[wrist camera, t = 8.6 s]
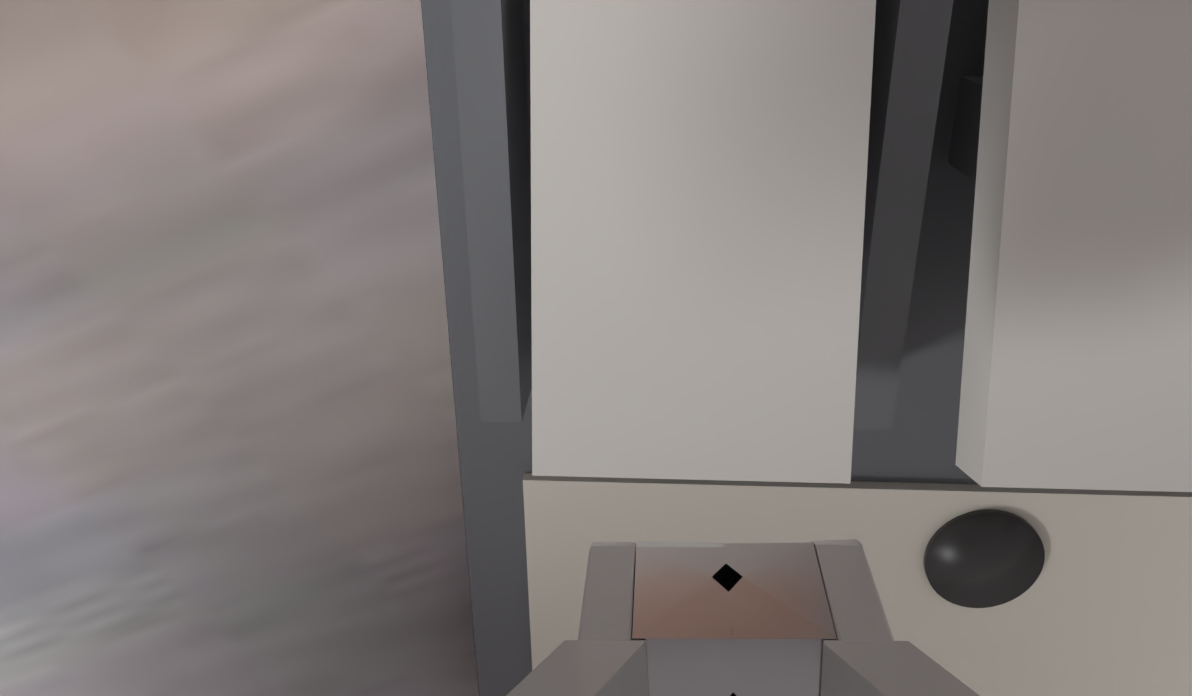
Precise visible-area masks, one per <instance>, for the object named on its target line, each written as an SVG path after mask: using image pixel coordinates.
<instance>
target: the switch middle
mask: <svg viewBox="0 0 1192 696" xmlns="http://www.w3.org/2000/svg"><path fill="white" fill-rule="evenodd" d="M955 465H956V466H957V467H959V468H960V469H961V470H962V471H963V472H964V473H966V474H967V475H968V476H969V477H970V478H972V479H973V480H974V481H975V482H976V483H978V484H979V485H980V486H981V487H1006V488H1046V489H1086V490H1125V491H1165V492H1192V0H989V4H988V18H987V32H986V46H985V60H984V74H983V88H982V101H981V115H980V129H979V143H978V157H977V171H976V185H975V199H974V213H973V227H972V241H971V254H970V268H969V282H968V296H967V310H966V324H965V338H964V352H963V366H962V380H961V394H960V407H959V421H958V435H957V449H956V463H955Z"/></svg>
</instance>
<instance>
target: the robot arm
mask: <svg viewBox="0 0 1192 696" xmlns="http://www.w3.org/2000/svg"><path fill="white" fill-rule="evenodd" d="M506 696H980V695H978V694H977V693H976V692H974V691H973V690H972V689H970V688H969V687H968V686H967V685H965V684H964V683H963V682H961V681H960V680H959V679H957V678H956V677H955V676H953V675H952V674H951V673H950V672H948V671H947V670H946V669H944V668H943V667H942V666H940V665H939V664H938V663H936V662H935V661H934V660H933V659H931V658H930V657H929V656H927V655H926V654H925V653H923V652H922V651H921V650H919V649H918V648H917V647H916V646H914V645H913V644H912V643H910V642H909V641H894V639H893V636H892V633H891V630H890V627H889V624H888V621H887V618H886V615H885V612H884V609H883V606H882V603H881V600H880V597H879V594H878V591H877V588H876V585H875V582H874V579H873V576H872V573H871V570H870V567H869V564H868V561H867V558H866V555H865V552H864V549H863V546H862V544H861V543H860V542H859V541H858V540H857V539H849V540H822V541H812V542H807V543H731V544H724V543H700V542H637V545H636V543H634V542H593V543H592V545H591V547H590V549H589V556H588V564H587V571H586V579H585V587H584V595H583V603H582V610H581V618H580V626H579V634H578V640H565V641H563V642H562V643H561V644H560V645H559V646H558V647H557V648H556V649H555V650H554V651H553V652H552V653H551V654H550V655H549V656H548V657H547V658H545V659H544V660H543V661H542V662H541V663H540V664H539V665H538V666H537V667H536V668H535V669H534V670H533V671H532V672H531V673H530V674H528V675H527V676H526V677H525V678H524V679H523V680H522V681H521V682H520V683H519V684H518V685H517V686H516V687H515V688H514V689H513V690H512V691H510V692H509V693H508V694H507V695H506Z"/></svg>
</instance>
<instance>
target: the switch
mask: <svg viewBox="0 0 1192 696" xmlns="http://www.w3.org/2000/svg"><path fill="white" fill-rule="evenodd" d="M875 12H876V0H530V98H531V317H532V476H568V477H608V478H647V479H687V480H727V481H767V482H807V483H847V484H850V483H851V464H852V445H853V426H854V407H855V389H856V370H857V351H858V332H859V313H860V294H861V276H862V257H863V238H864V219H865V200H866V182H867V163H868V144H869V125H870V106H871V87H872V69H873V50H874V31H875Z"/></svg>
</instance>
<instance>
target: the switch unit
mask: <svg viewBox="0 0 1192 696" xmlns="http://www.w3.org/2000/svg"><path fill="white" fill-rule="evenodd" d="M988 4H989V0H876V12H875V31H874V50H873V69H872V87H871V106H870V125H869V144H868V163H867V182H866V200H865V219H864V238H863V257H862V276H861V294H860V313H859V332H858V351H857V370H856V389H855V407H854V426H853V445H852V464H851V483H850V484H847V483H807V482H767V481H727V480H687V479H647V478H608V477H568V476H532V317H531V98H530V0H421V8H422V19H423V31H424V43H425V55H426V67H427V79H428V91H429V103H430V115H431V127H432V139H433V151H434V163H435V175H436V187H437V199H438V211H439V223H440V235H441V247H442V259H443V271H444V283H445V295H446V307H447V319H448V331H449V343H450V354H451V366H452V378H453V390H454V402H455V414H456V426H457V438H458V450H459V462H460V474H461V486H462V498H463V510H464V522H465V534H466V546H467V558H468V570H469V582H470V594H471V606H472V618H473V630H474V642H475V654H476V666H477V677H478V689H479V696H506V695H507V694H508V693H509V692H510V691H512V690H513V689H514V688H515V687H516V686H517V685H518V684H519V683H520V682H521V681H522V680H523V679H524V678H525V677H526V676H527V675H528V674H530V673H531V672H532V671H533V670H534V669H535V668H536V667H537V666H538V665H539V664H540V663H541V662H542V661H543V660H544V659H545V658H547V657H548V656H549V655H550V654H551V653H552V652H553V651H554V650H555V649H556V648H557V647H558V646H559V645H560V644H561V643H562V642H563V641H565V640H578V634H579V626H580V618H581V610H582V603H583V595H584V587H585V579H586V571H587V564H588V556H589V549H590V547H591V545H592V543H593V542H634V543H636V545H637V542H700V543H724V544H731V543H807V542H812V541H822V540H849V539H857V540H858V541H859V542H860V543H861V544H862V546H863V549H864V552H865V555H866V558H867V561H868V564H869V567H870V570H871V573H872V576H873V579H874V582H875V585H876V588H877V591H878V594H879V597H880V600H881V603H882V606H883V609H884V612H885V615H886V618H887V621H888V624H889V627H890V630H891V633H892V636H893V639H894V641H909V642H910V643H912V644H913V645H914V646H916V647H917V648H918V649H919V650H921V651H922V652H923V653H925V654H926V655H927V656H929V657H930V658H931V659H933V660H934V661H935V662H936V663H938V664H939V665H940V666H942V667H943V668H944V669H946V670H947V671H948V672H950V673H951V674H952V675H953V676H955V677H956V678H957V679H959V680H960V681H961V682H963V683H964V684H965V685H967V686H968V687H969V688H970V689H972V690H973V691H974V692H976V693H977V694H978V695H980V696H1192V492H1165V491H1125V490H1086V489H1046V488H1006V487H981V486H980V485H979V484H978V483H976V482H975V481H974V480H973V479H972V478H970V477H969V476H968V475H967V474H966V473H964V472H963V471H962V470H961V469H960V468H959V467H957V466H956V465H955V463H956V449H957V435H958V421H959V407H960V394H961V380H962V366H963V352H964V338H965V324H966V310H967V296H968V282H969V268H970V254H971V241H972V227H973V213H974V199H975V185H976V171H977V157H978V143H979V129H980V115H981V101H982V88H983V74H984V60H985V46H986V32H987V18H988Z"/></svg>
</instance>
